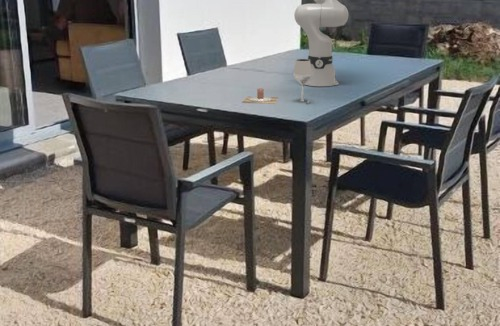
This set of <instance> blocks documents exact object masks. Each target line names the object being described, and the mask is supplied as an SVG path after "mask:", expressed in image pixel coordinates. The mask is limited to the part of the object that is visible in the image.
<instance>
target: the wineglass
mask: <svg viewBox="0 0 500 326" xmlns="http://www.w3.org/2000/svg"><path fill="white" fill-rule="evenodd" d="M292 73H293V77H294V79H295V80H296V81H297V82H298V83H299V84H300V85H301V98H300V102H305V100H304V88H305V87H304V86H305V85H304V84H305V83H306V82H307V81H308V80H310V78H311V77H312V74H313V72H312V67H311V63H310V60H308V58H303V59H302V58H299V59H296V60H295V64H294V67H293V71H292ZM305 104H310V101H309V100H307V101H306V102H305Z"/></svg>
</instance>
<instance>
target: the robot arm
mask: <svg viewBox="0 0 500 326" xmlns="http://www.w3.org/2000/svg"><path fill="white" fill-rule="evenodd" d="M313 1H314V2H315V3H305V4H299V5H298V6H297V7H295V8H296V9H295V11H294V21H295V22H296V24H297V25H298V26H299V27H300V28H301V29H303V31H304V32H305V34H306V36H307V39H308V56H307V59H308V60H310V63H311V67H312V72H313V74H312V77H311V78H310V80H308V81H307V82H306V83H305V84H304V86H305V85H306V86H309V87H331V86H339V85H340V83H339V81H337V79H336V77H337V76H336V69H335V66H334V65H333V60H334V59H333V55H332V54H333V53H332V51H333V41H332V39H331V37H330V36H329V35H327V34H326V33H323V32H322V31H321V30H320V28H336V27H343V26H345V25H346V23H347V22H348V21H349V20H348V19H349V10H348V8H347V7H346V5H344V4H342V3H341V2H340V1H338V0H313Z"/></svg>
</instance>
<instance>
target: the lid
mask: <svg viewBox="0 0 500 326" xmlns="http://www.w3.org/2000/svg"><path fill="white" fill-rule="evenodd" d="M264 90H265V88H257V90H256V91H257V93H256V95H255V96H249V97H250V98H249V101H252V102H269V101H272V98H271V97H272V96H269V95H268V96H266V95H264V94H265V93H264Z"/></svg>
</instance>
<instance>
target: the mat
mask: <svg viewBox="0 0 500 326" xmlns="http://www.w3.org/2000/svg"><path fill="white" fill-rule="evenodd" d="M250 97H251V96H247V97H246V98H244V100H243V101H241V104H268V105H271V104H272V105H273V104H276V102H277V101H278V99H280V98H279V97H277V96H275V97H272V96H270V97H271V98H272V101H269V102H252V101H249V98H250Z"/></svg>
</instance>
